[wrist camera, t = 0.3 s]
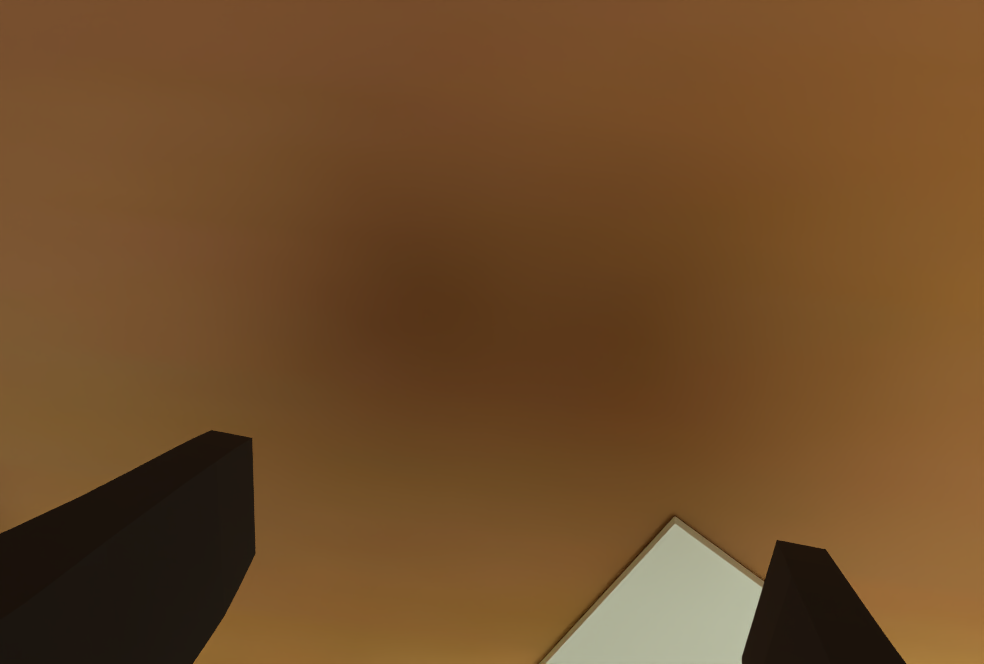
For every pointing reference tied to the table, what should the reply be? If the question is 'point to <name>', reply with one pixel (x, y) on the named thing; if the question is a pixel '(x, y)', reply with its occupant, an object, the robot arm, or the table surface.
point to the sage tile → (668, 608)
